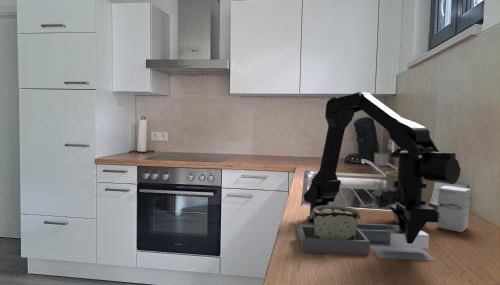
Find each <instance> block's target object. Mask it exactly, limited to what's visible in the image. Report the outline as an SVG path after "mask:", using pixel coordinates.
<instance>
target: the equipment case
mask: <svg viewBox="0 0 500 285" xmlns="http://www.w3.org/2000/svg"><path fill="white" fill-rule="evenodd" d="M295 229H296V233H297V237H298V241H299V244H300V249H301V252H302V253H303V254H319V255H326V254H328V253H330V254H348V255H351V254H352V255H370V249H371V248H370V241H369V240H368V239H367V238H366V236H365V235H364V234H363V233H362V232H361V231H360V229H359V228H357V231H356V238H355V240H344V239H321V238H315V234H314V224H295Z"/></svg>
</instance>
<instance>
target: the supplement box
mask: <svg viewBox="0 0 500 285" xmlns="http://www.w3.org/2000/svg"><path fill="white" fill-rule="evenodd" d="M470 200H471V188H467V187H458V186H454V185H452V186H451V185H442V186H440V187H439V188H438V203H437V211H438V213H439V222H436V228H437V229H438V228H440V229H444V230H449V231H454V232H457V231H458V233H461V232H463V231H464V230H465V229H466V228H467V229H468V225H469V213H470ZM467 229H466V230H467ZM466 230H465V231H466ZM465 231H464V232H465ZM464 232H463V233H464Z"/></svg>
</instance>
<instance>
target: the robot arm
mask: <svg viewBox="0 0 500 285" xmlns="http://www.w3.org/2000/svg"><path fill="white" fill-rule="evenodd" d="M361 111H362V112H363V113H365V114H366V115H368V116H369V117H370V118H372V119H373V120H374V121H375V122H376V123H377V124H378V125H380V126H381V127H382V128H384V129H385V130H386V132H387V133H388V136H389V138H390V140H392V142H393V143H394V144H395V145H396V147H397V148H396V149H395V150H394V151H393V152H392V153H390V158H397V171H398V174H397V180H394V181H393V186H391V187H387V186H386V187H384V188H380V189H377V190H374V191H372V192H371V195H372V200H373V201H374V205H376V206H377V207H378V208H379V209H383V208H386V207H387V206H390V207H389V210H390V211H391V213H392V214H393V213H394V214H395V215H396V217H397V220H398V223H397V225H399V230H406V238H407V243H408V244H412V243H413V242H414V240H415V238H416V237H417V235H418V234H419V232H420V231H422V229H423V228H424V226H425V225H426V224H427V223H437V222H439V213H438V209H436V208H434V207H432V206H430V205H429V206H423V205H425V202H426V201H425V200H423V199H422V194H423V188H426V183H423V177H424V179H426V180H429V181H435V183H443V184H447V185H454V184H456V183H457V182H458V181H459V178H460V176H461V171H462V169H461V168H462V167H461V166H460V163H459V160H458V159H457V158H456V153H455V152H440V150H439V149H438V147H437V146H436V144H435V143H434V141H433V140H432V138H431V133H430V130H429V129H428V128H427V127H425V126H423V125H421V124H420V123H417V122H415V121H412V120H409V119H406V118H404V117H401V116H400V115H399V114H397V113H396V112H395V111H394V110H392V109H391V108H389V107H388V106H386V105H385V104H384V103H382V102H381V101H379V99H377V98H375V97H374V96H373V94H371V93H369V92H364V91H362V92H361V91H358V92H354V93H352V94H349V95H344V96H340V97H335V96H334V97H331V98H329V100H327V102H326V105H325V119H326V123H327V126H328V127H327V132H326V136H325V142H324V145H323V147H324V148H323V151H322V156H321V162H320V167H319V170H318V172H317V173H316V174H314V176H313V178H312V180H311V184H310V187H308V189H307V190H306V192H305V193H304V194H303V201H304V202H305V203H309V215H307V220H308V222H309V223H312V224H314V219H313V216H312V219H311V214H312V211H313V209H314V208H315V207H318V206H326V205H329V203H334V202H335V199H336V197H337V195H338V194H339V193H340V187H341V184H342V180H341V179H339V178H338V177H337V168H338V163H339V158H340V155H341V154H340V153H341V150H342V145H343V141H344V140H343V139H344V136H345V130H346V128H347V127H348V126H349V125H350V123H351V122H352V121H353V118H354V116H355V113H358V112H361ZM391 204H392V207H391Z"/></svg>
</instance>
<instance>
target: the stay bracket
mask: <svg viewBox="0 0 500 285" xmlns="http://www.w3.org/2000/svg"><path fill="white" fill-rule="evenodd" d="M357 228H359V229H360V231H361V232H362V233H363V234H364V235H365V236H366V238H367V239H368V240H369V241H370V243H379V244H387V243H386V229H387V230H400V229H399V225H398V224H397V225H396V224H375V223H373V224H372V223H371V224H370V223H358V224H357Z"/></svg>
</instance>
